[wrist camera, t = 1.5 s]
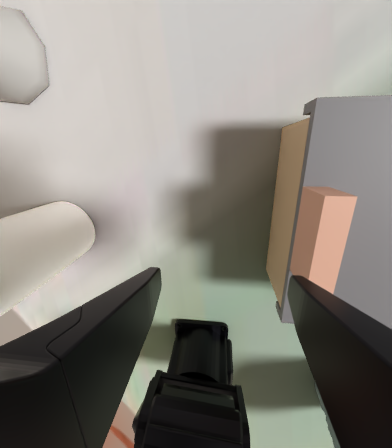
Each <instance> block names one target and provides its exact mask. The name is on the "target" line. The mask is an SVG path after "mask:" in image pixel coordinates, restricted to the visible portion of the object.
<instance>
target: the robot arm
mask: <svg viewBox="0 0 392 448" xmlns="http://www.w3.org/2000/svg"><path fill="white" fill-rule="evenodd" d="M161 285H162V284H161V270H160V268H158V267H150V268H148V269H146V270H144V271H143V272H141V273H139V274H137V275H135V276H134V277H132V278H130V279H128V280H126V281H125V282H123V283H121V284H119V285H117V286H116V287H114V288H112V289H110V290H108V291H107V292H105V293H103V294H101V295H99V296H98V297H96V298H94V299H92V300H90V301H89V302H87V303H85V304H83V305H82V307H81V306H79V307H78V308H76V309H74V310H72V311H71V312H69V313H67V314H65V315H63V316H61V317H59V318H57V319H56V320H54V321H52V322H50V323H48V324H46V325H44V326H41V327H39V328H37V329H35V330H33V331H31V332H29V333H27V334H25V335H23V336H21V337H19V338H17V339H15V340H13V341H10V342H8V343H6V344H4V345H2V346H0V448H102V447H103V444H104V442H105V439H106V437H107V434H108V432H109V429H110V427H111V424H112V422H113V419H114V417H115V414H116V411H117V409H118V407H119V404H120V402H121V399H122V397H123V394H124V392H125V389H126V387H127V384H128V382H129V379H130V377H131V374H132V372H133V369H134V366H135V364H136V361H137V359H138V356H139V354H140V351H141V349H142V346H143V344H144V341H145V339H146V336H147V334H148V331H149V329H150V326H151V324H152V321H153V317H154V314H155V310H156V306H157V303H158V299H159V295H160V291H161ZM287 297H288V301H289V305H290V309H291V313H292V317H293V321H294V325H295V328H296V332H297V335H298V338H299V341H300V343H301V346H302V349H303V351H304V354H305V356H306V359H307V362H308V364H309V367H310V369H311V372H312V375H313V377H314V380H315V383H316V385H317V388H318V390H319V393H320V396H321V398H322V401H323V403H324V406H325V409H326V411H327V414H328V416H329V419H330V422H331V424H332V427H333V430H334V432H335V435H336V437H337V440H338V443H339V445H340V448H392V329H391V328H389V327H387V326H386V325H384V324H382V323H380V322H379V321H377V320H375V319H374V318H372V317H370V316H369V315H367V314H365V313H364V312H362V311H360V310H359V309H357V308H355V307H354V306H352V305H350V304H349V303H347V302H345V301H344V300H342V299H340V298H339V297H337V296H335V295H333V294H332V293H330V292H328V291H327V290H325V289H323V288H322V287H320V286H318V285H317V284H315V283H313V282H312V281H310V280H308V279H307V278H305V277H303V276H301V275H291V276H290V279H289V285H288V291H287ZM179 324H180V325H179ZM175 332H176V338H175V342H174V346H173V350H172V354H171V358H170V362H169V367H168V371H167V373H166V372H162V371H161V370H157V372H156V374H155V377H153V378H152V380H151V381H150V383H149V386H148V390H147V393H146V396H145V398H144V401H143V403H142V404H141V406H140V408H139V410H138V412H137V414H136V416H135V418H134V421H133V424H132V428H133V430H134V433H135V439H134V442H135V444H134V448H250V433H249V425H248V419H247V414H246V409H245V404H244V399H243V393H242V388H241V386H240V385H235V386H234V385H232V380H233V362H232V343H231V340H230V339H227V338H228V326H227V324H224V323H213V322H201V321H188V320H177V321H176V323H175Z"/></svg>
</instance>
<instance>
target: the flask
mask: <svg viewBox="0 0 392 448" xmlns="http://www.w3.org/2000/svg"><path fill="white" fill-rule="evenodd" d="M48 86H49V77H48V68H47V59H46V50H45V45H44V44H43V42H42V41H41V39H40V38H39V36H38V35H37V33H36V32H35V30H34V29H33V27H32V26H31V24H30V22H29V21H28V19H27V18H26V16H25V15H24V13H23V12H22V11H21V10H16V9H12V8H8V7H3V6H0V101H6V102H15V103H24V104H29V103H31V102H32V101H33V100H34V99H35V98H36V97H37V96H38V95H39V94H40V93H41V92H42V91H44V90H45V89H46V88H47V87H48Z"/></svg>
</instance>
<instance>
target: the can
mask: <svg viewBox="0 0 392 448" xmlns="http://www.w3.org/2000/svg"><path fill="white" fill-rule="evenodd" d="M94 240H95V229H94V225H93V223H92V221H91V219H90V217H89V216H88V215H87V214H86V212H84V211H83V210H82V209H81V208H80V207H78V206H76V205H74V204H72V203H69V202H65V201H58V202H53V203H50V204H46V205H43V206H39V207H36V208H33V209H30V210H26V211H23V212H20V213H17V214H13V215H10V216H7V217H4V218H0V316H1V315H3V314H4V313H6V312H7V311H9V310H10V309H11V308H13V307H14V306H16V305H17V304H18V303H20V302H21V301H22V300H24V299H25V298H26V297H28V296H29V295H30V294H32V293H33V292H34V291H36V290H37V289H38V288H40V287H41V286H42V285H44V284H45V283H46V282H48V281H49V280H50V279H52V278H53V277H54V276H56V275H57V274H58V273H60V272H61V271H62V270H64V269H65V268H66V267H67V266H69V265H70V264H71V263H73V262H74V261H75V260H77V259H78V258H79V257H81V256H82V255H83V254H84V253H86V252H87V251H88V250H89V249H90V248H91V247H92V245H93V243H94Z"/></svg>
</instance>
